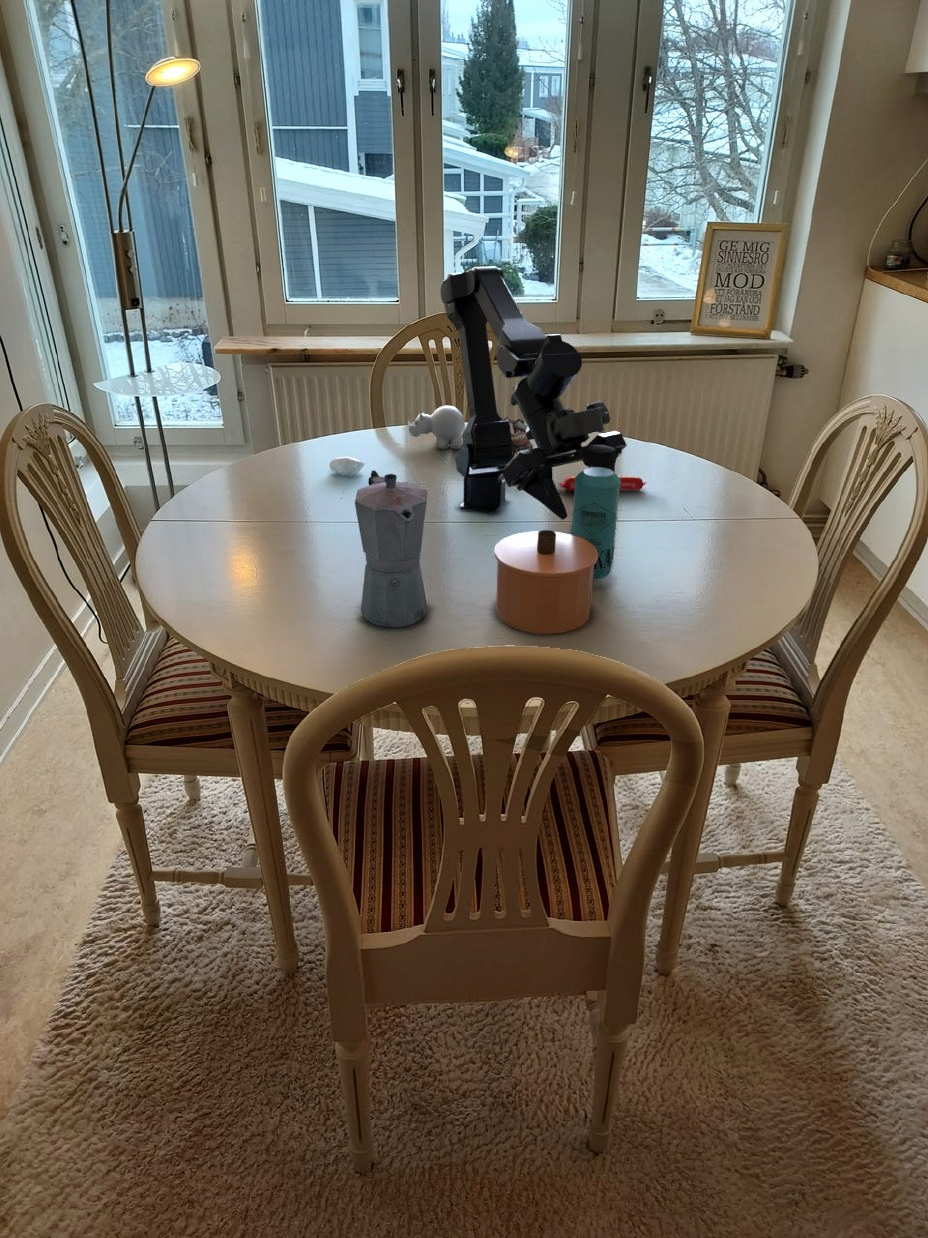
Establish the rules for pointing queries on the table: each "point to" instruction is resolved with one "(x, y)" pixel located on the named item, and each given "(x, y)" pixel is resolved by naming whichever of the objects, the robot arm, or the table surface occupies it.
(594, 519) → the beverage bottle
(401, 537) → the moka pot
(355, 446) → the table surface
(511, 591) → the pot
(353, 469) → the dumpling
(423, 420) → the toy rhinoceros
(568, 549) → the pot lid
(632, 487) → the candy bar
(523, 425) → the cupcake
